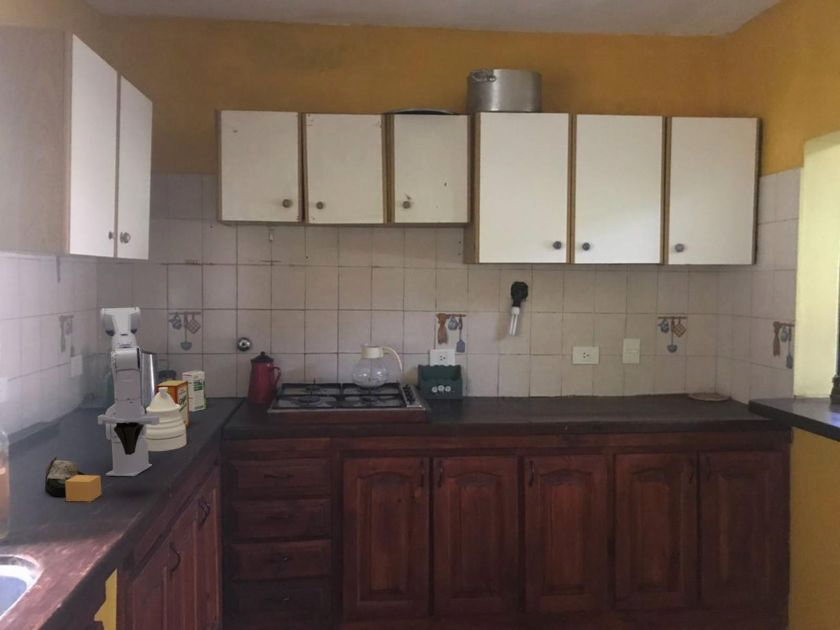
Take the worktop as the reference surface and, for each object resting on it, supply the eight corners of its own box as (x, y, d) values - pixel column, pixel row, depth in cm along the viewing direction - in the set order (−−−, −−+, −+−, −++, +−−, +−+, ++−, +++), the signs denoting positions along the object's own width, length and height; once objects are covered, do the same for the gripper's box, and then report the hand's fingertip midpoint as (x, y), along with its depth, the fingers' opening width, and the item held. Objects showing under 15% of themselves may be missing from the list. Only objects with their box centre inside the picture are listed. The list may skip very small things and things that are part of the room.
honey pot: (190, 447, 205) (188, 388, 203) (145, 453, 198) (142, 392, 197) (181, 437, 216) (179, 381, 214) (138, 443, 209) (135, 385, 208)
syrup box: (193, 412, 252) (192, 373, 250) (183, 410, 255) (182, 372, 254) (206, 409, 256) (205, 371, 255) (196, 407, 260) (194, 369, 258)
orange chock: (76, 495, 163) (75, 475, 163) (101, 496, 163) (100, 475, 162) (65, 501, 159) (64, 481, 158) (90, 502, 158) (89, 481, 158)
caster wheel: (79, 505, 163) (34, 502, 161) (94, 481, 174) (53, 477, 172) (80, 481, 161) (35, 477, 160) (95, 458, 172) (54, 454, 170)
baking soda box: (170, 425, 231) (169, 379, 230) (189, 425, 231) (187, 379, 229) (158, 432, 222) (156, 384, 220) (178, 432, 221) (176, 384, 220)
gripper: (89, 400, 159) (92, 457, 160) (148, 401, 157) (150, 459, 158) (106, 394, 166) (108, 449, 167) (162, 395, 164) (164, 450, 165)
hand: (130, 453), depth 163 cm, fingers closed
